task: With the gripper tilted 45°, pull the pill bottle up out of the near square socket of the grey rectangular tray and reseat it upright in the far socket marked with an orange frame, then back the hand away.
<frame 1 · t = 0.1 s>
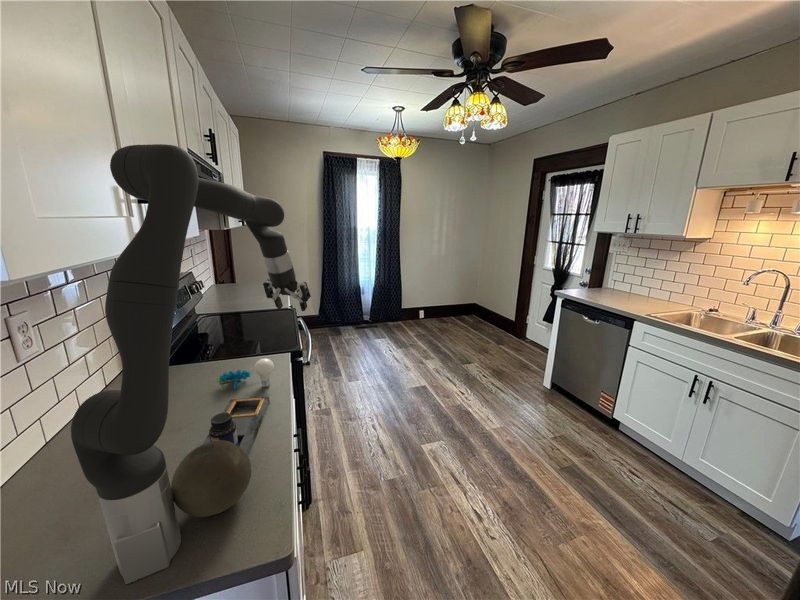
hand: (292, 308, 105), 31 cm above the countertop, tool tilted 20°, fingers open, 8 cm apart
lightbulb: (266, 386, 117), on the countertop
grey rectangular tray: (236, 432, 92), on the countertop
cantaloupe: (218, 507, 69), on the countertop
blue branched piece: (235, 386, 117), on the countertop
pill bottle: (226, 454, 84), resting in grey rectangular tray
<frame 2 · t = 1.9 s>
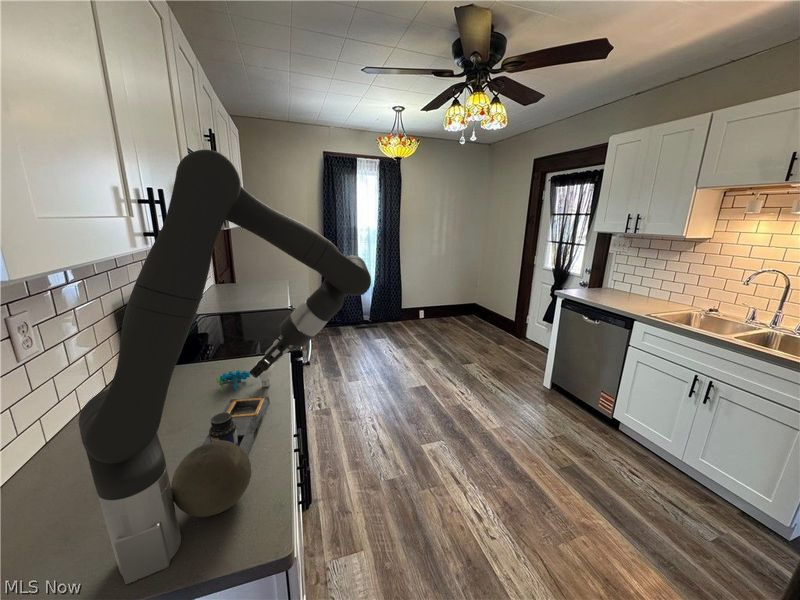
hand: (260, 366, 77), 26 cm above the countertop, tool tilted 45°, fingers open, 8 cm apart
nothing on the countertop moved.
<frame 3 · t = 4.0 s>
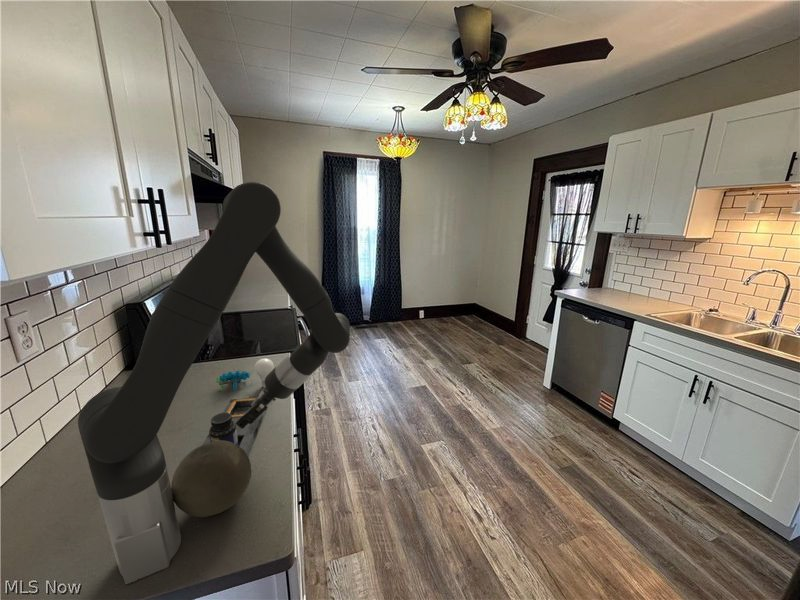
hand: (247, 414, 81), 12 cm above the countertop, tool tilted 45°, fingers open, 8 cm apart
nothing on the countertop moved.
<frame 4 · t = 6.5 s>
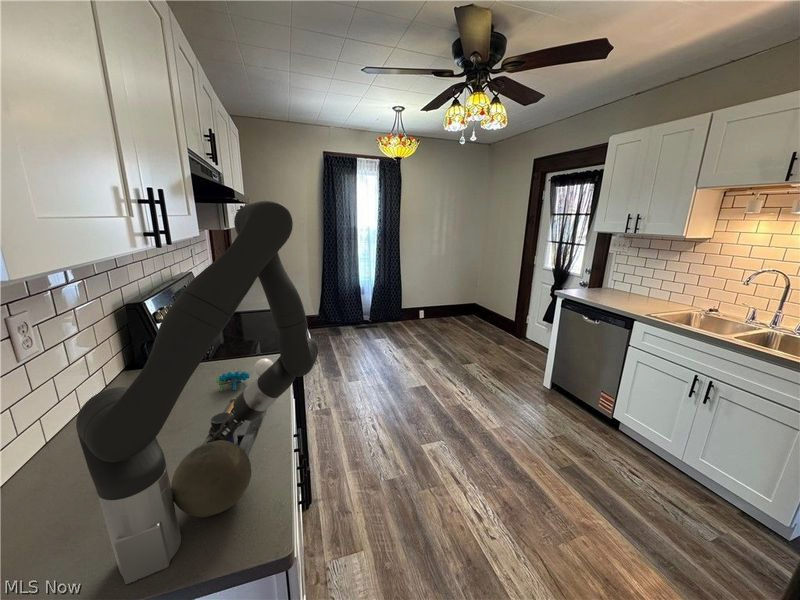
hand: (217, 436, 83), 5 cm above the countertop, tool tilted 45°, fingers closed on pill bottle, 6 cm apart
pill bottle: (226, 454, 84), resting in grey rectangular tray, touching gripper
everything else where it was.
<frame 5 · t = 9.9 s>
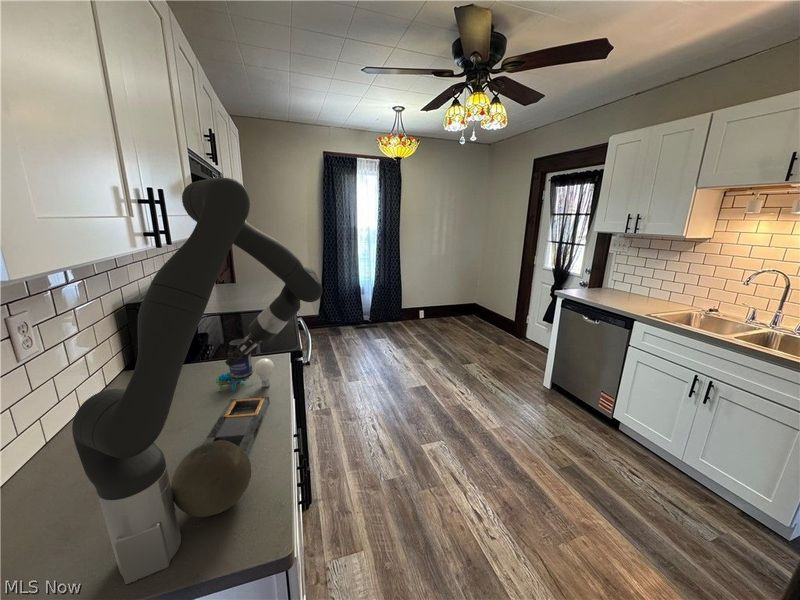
hand: (234, 359, 95), 19 cm above the countertop, tool tilted 45°, fingers closed on pill bottle, 6 cm apart
pill bottle: (242, 375, 97), point 14 cm above the countertop, touching gripper
when the fingers open (6 cm above the countertop, at t = 13.5 s): pill bottle stays where it is, resting in grey rectangular tray.
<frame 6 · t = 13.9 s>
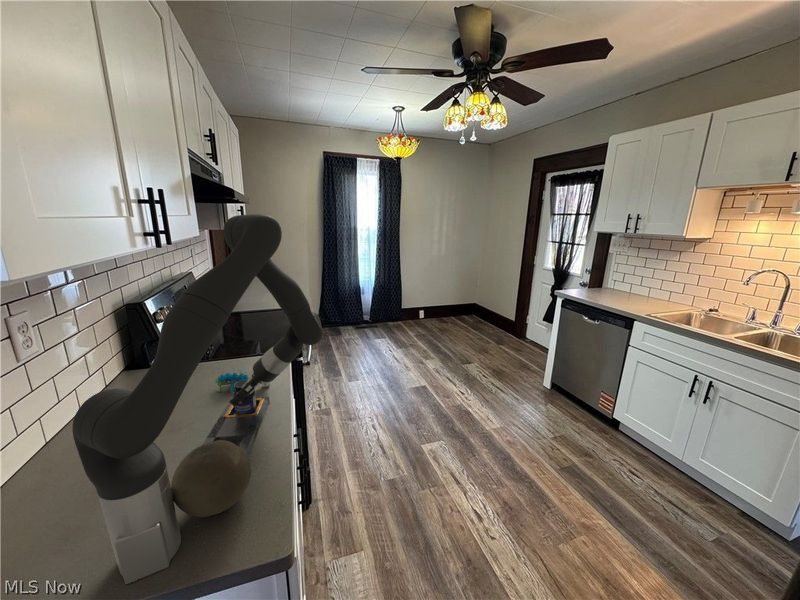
hand: (239, 395, 99), 7 cm above the countertop, tool tilted 45°, fingers open, 8 cm apart
pill bottle: (246, 415, 100), resting in grey rectangular tray
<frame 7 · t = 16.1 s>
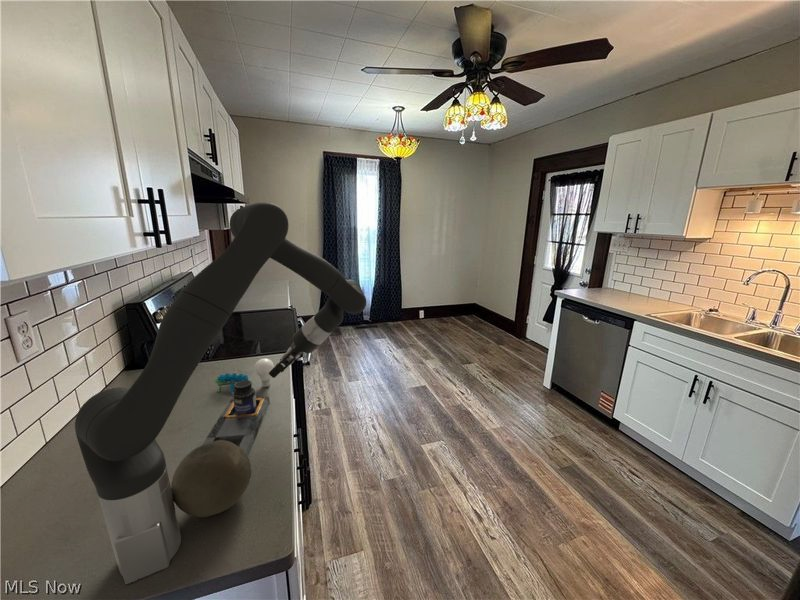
hand: (276, 368, 96), 16 cm above the countertop, tool tilted 45°, fingers open, 8 cm apart
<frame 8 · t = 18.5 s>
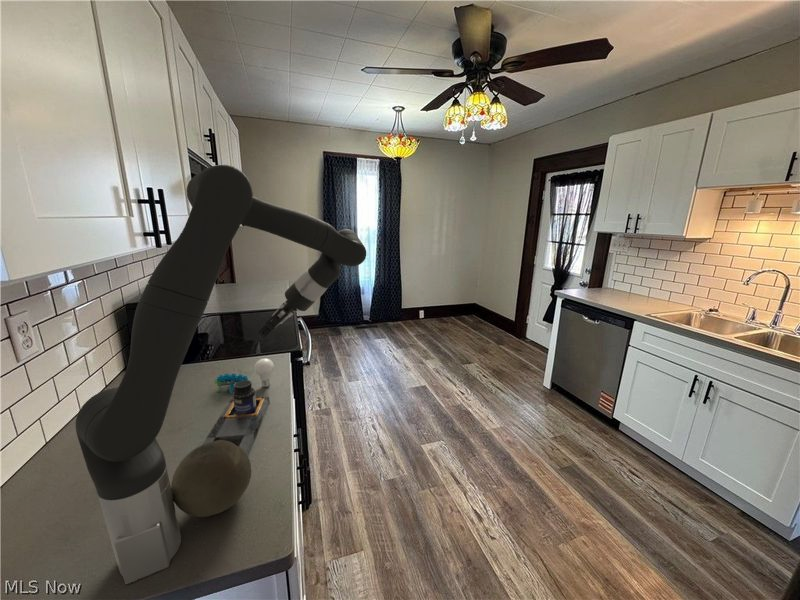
hand: (268, 329, 88), 31 cm above the countertop, tool tilted 45°, fingers open, 8 cm apart
at the end: pill bottle 0.2 cm from the target spot, resting in grey rectangular tray; pill bottle tilted 0°; the gripper is holding nothing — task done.
